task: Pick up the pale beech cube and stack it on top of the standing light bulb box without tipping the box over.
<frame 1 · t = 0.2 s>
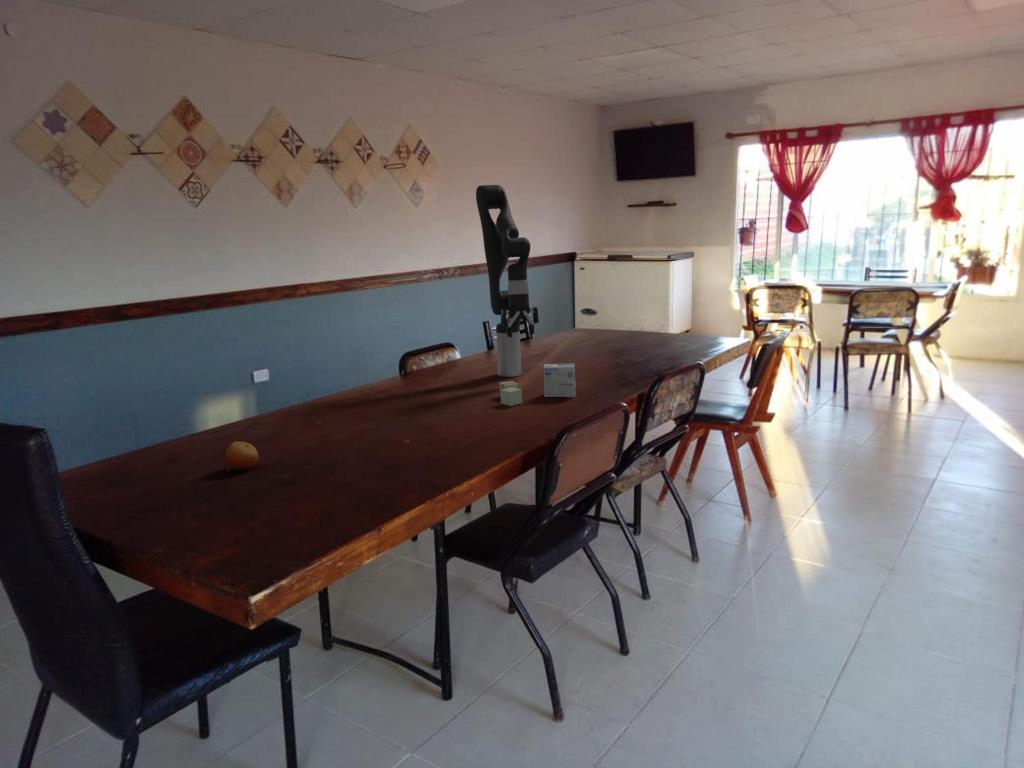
hand: (520, 336, 277), 17 cm above the table, tool pointing down, fingers open, 8 cm apart
sage block: (511, 404, 246), on the table
beech block: (509, 397, 256), on the table
light bulb box: (560, 396, 255), on the table
fruit: (243, 469, 189), on the table
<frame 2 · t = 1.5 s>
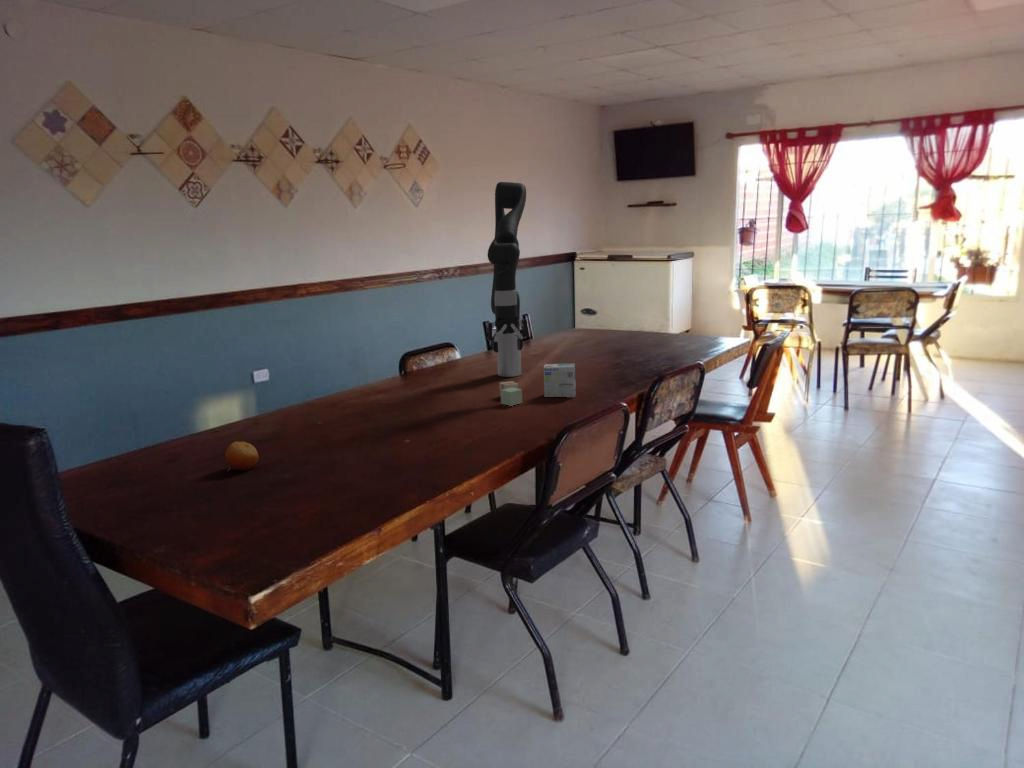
hand: (507, 351, 253), 16 cm above the table, tool pointing down, fingers open, 8 cm apart
nothing on the table moved.
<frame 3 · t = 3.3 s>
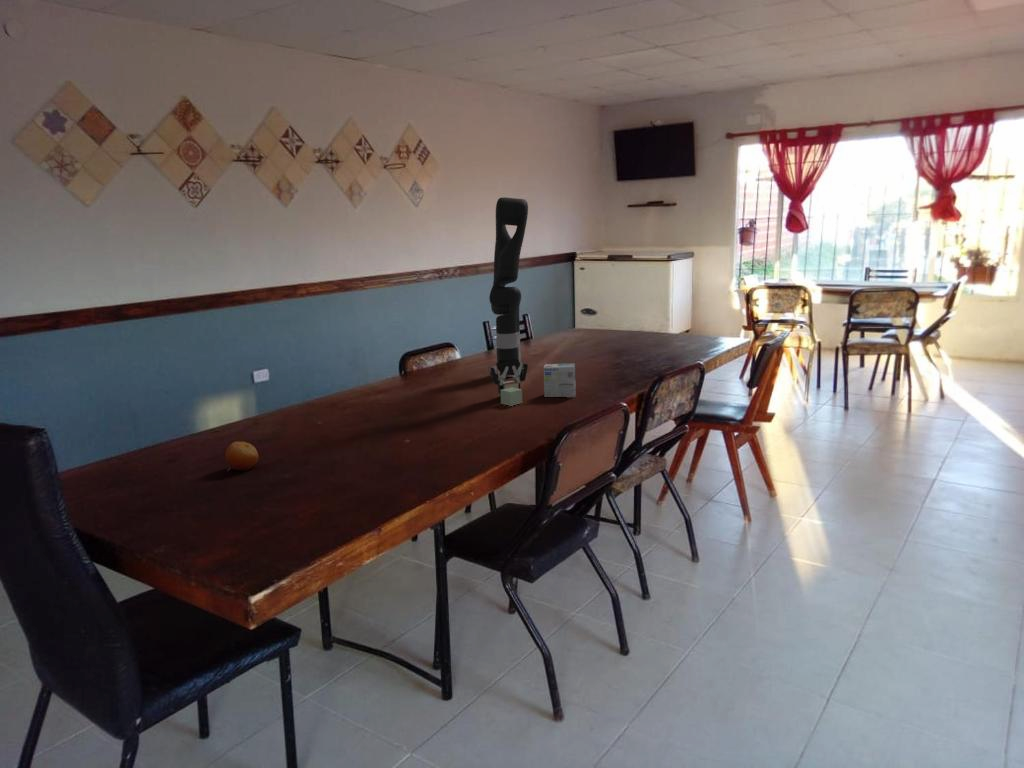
hand: (509, 394, 256), 1 cm above the table, tool pointing down, fingers closed on beech block, 5 cm apart
beech block: (509, 397, 256), on the table, touching gripper
everything else where it was.
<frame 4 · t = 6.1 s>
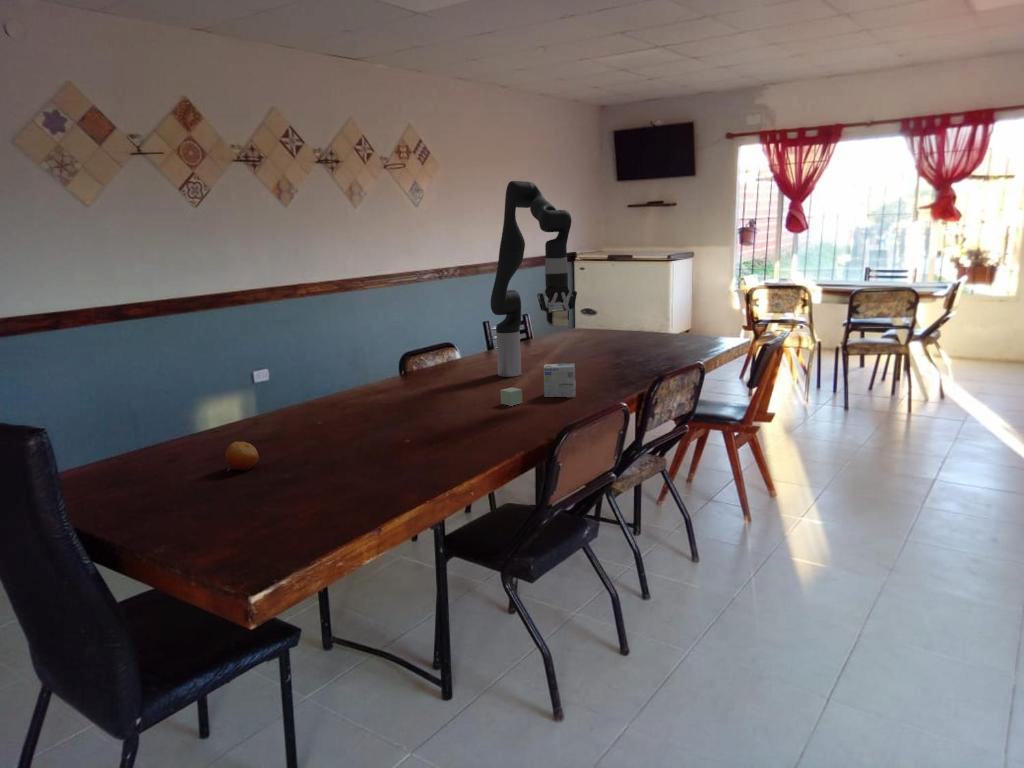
hand: (557, 322, 250), 25 cm above the table, tool pointing down, fingers closed on beech block, 5 cm apart
beech block: (558, 325, 250), point 24 cm above the table, touching gripper
everything else where it was.
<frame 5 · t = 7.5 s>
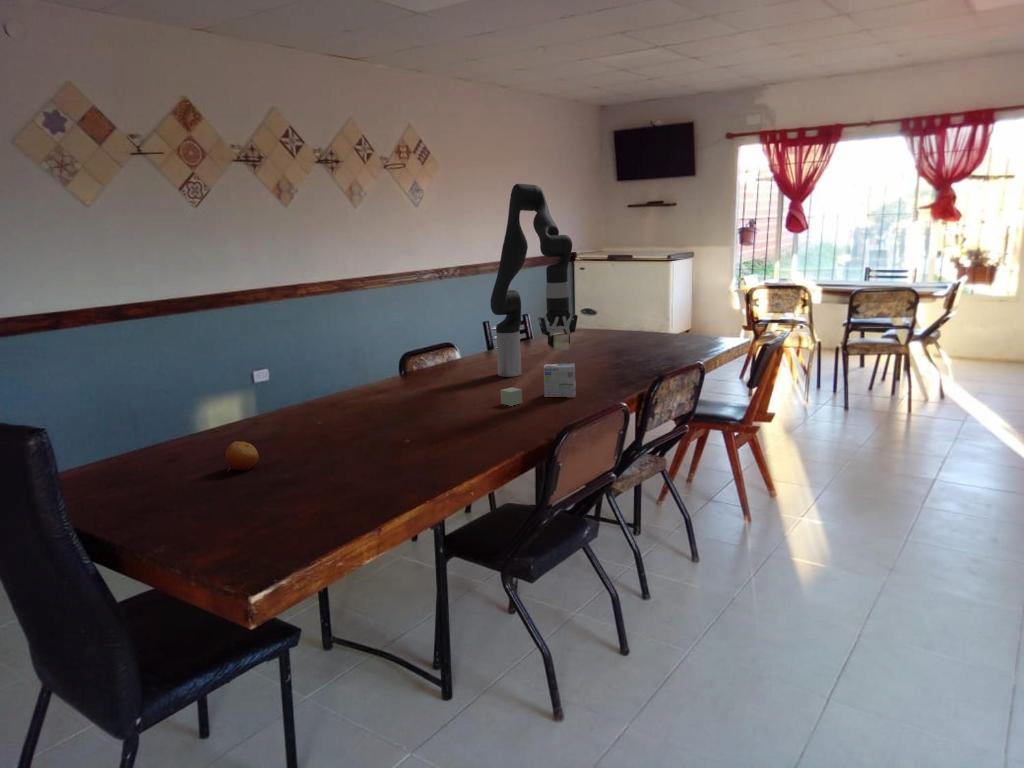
hand: (558, 346, 252), 17 cm above the table, tool pointing down, fingers closed on beech block, 5 cm apart
beech block: (559, 348, 252), point 16 cm above the table, touching gripper
everything else where it was.
when the fingers open (13 cm above the table, at t = 8.7 s): beech block drops 2 cm, resting on light bulb box.
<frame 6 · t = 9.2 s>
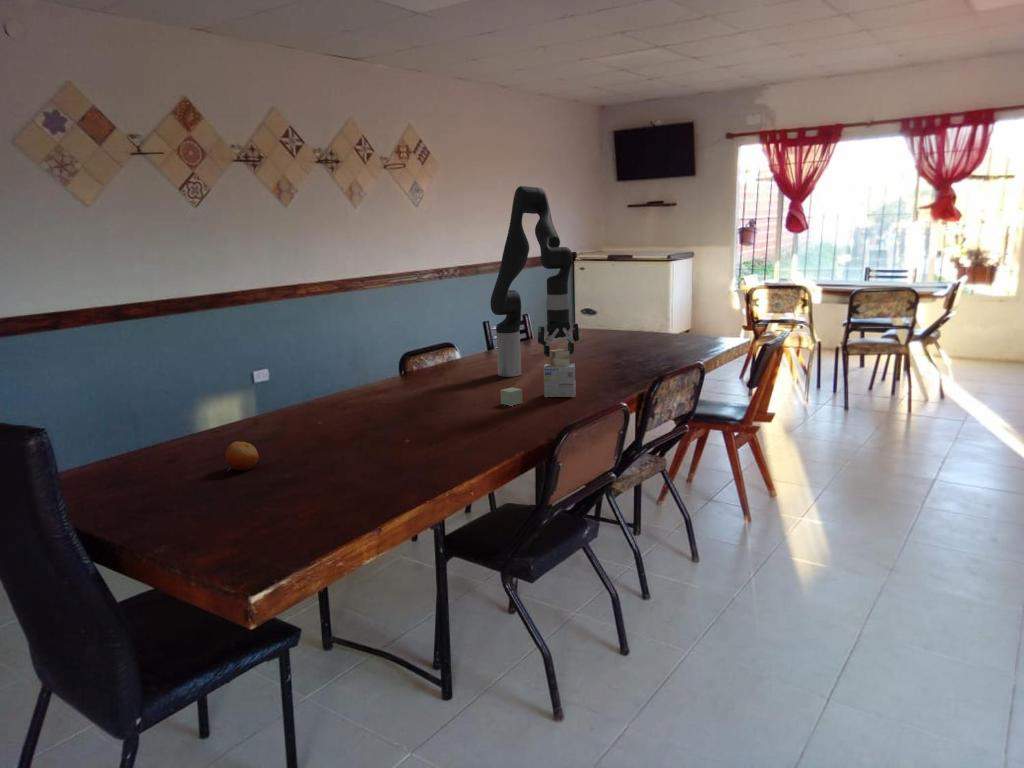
hand: (559, 355, 252), 14 cm above the table, tool pointing down, fingers open, 8 cm apart
beech block: (559, 365, 253), point 11 cm above the table, touching light bulb box
light bulb box: (560, 396, 255), on the table, touching beech block
everything else where it was.
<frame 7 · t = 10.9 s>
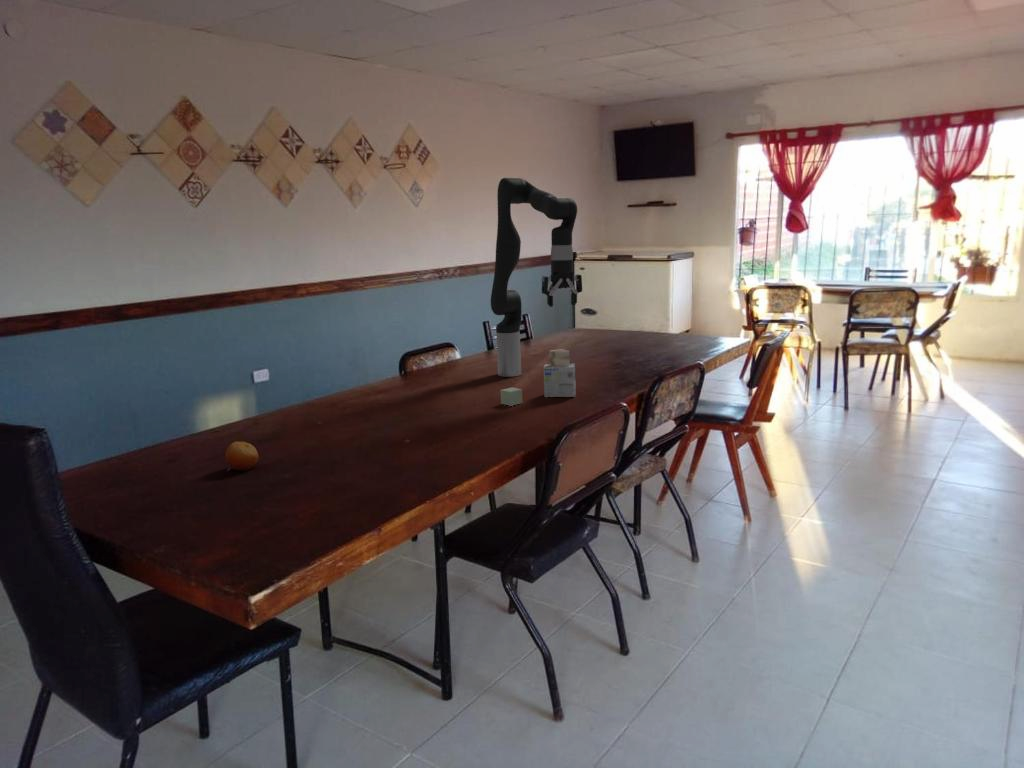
hand: (562, 305, 257), 30 cm above the table, tool pointing down, fingers open, 8 cm apart
nothing on the table moved.
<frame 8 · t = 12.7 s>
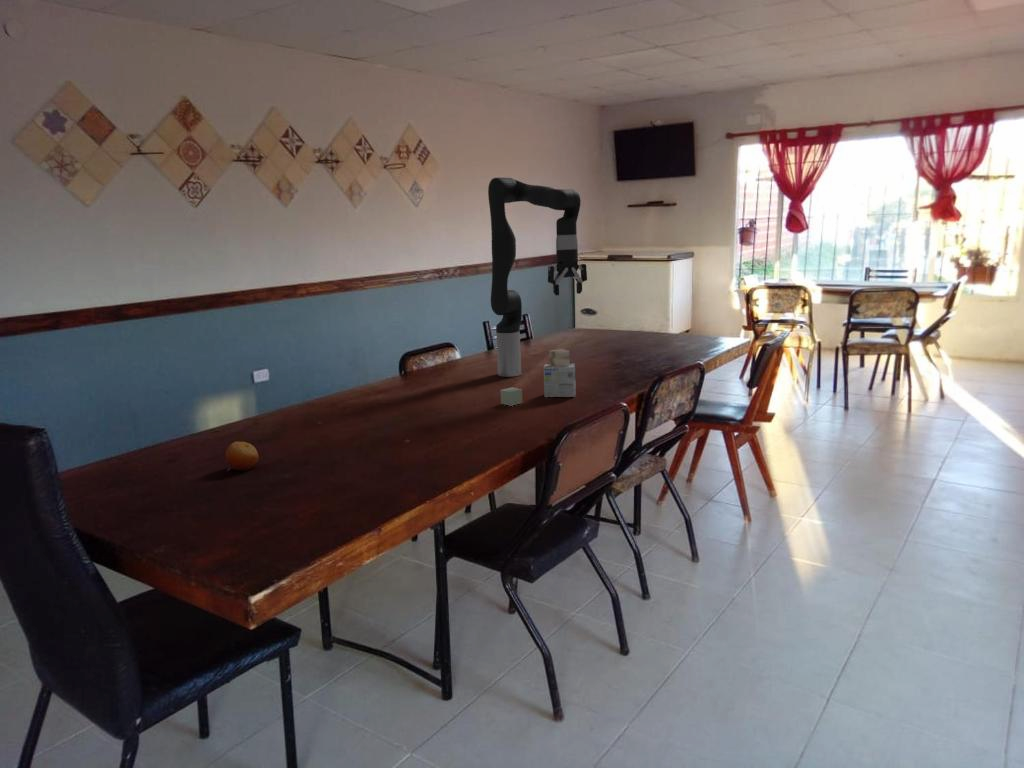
hand: (567, 294, 264), 33 cm above the table, tool pointing down, fingers open, 8 cm apart
nothing on the table moved.
at the end: beech block inside the target area on the light bulb box (0.1 cm from its centre), point 11.0 cm above the light bulb box's base; light bulb box tilted 0°; the gripper is holding nothing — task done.
